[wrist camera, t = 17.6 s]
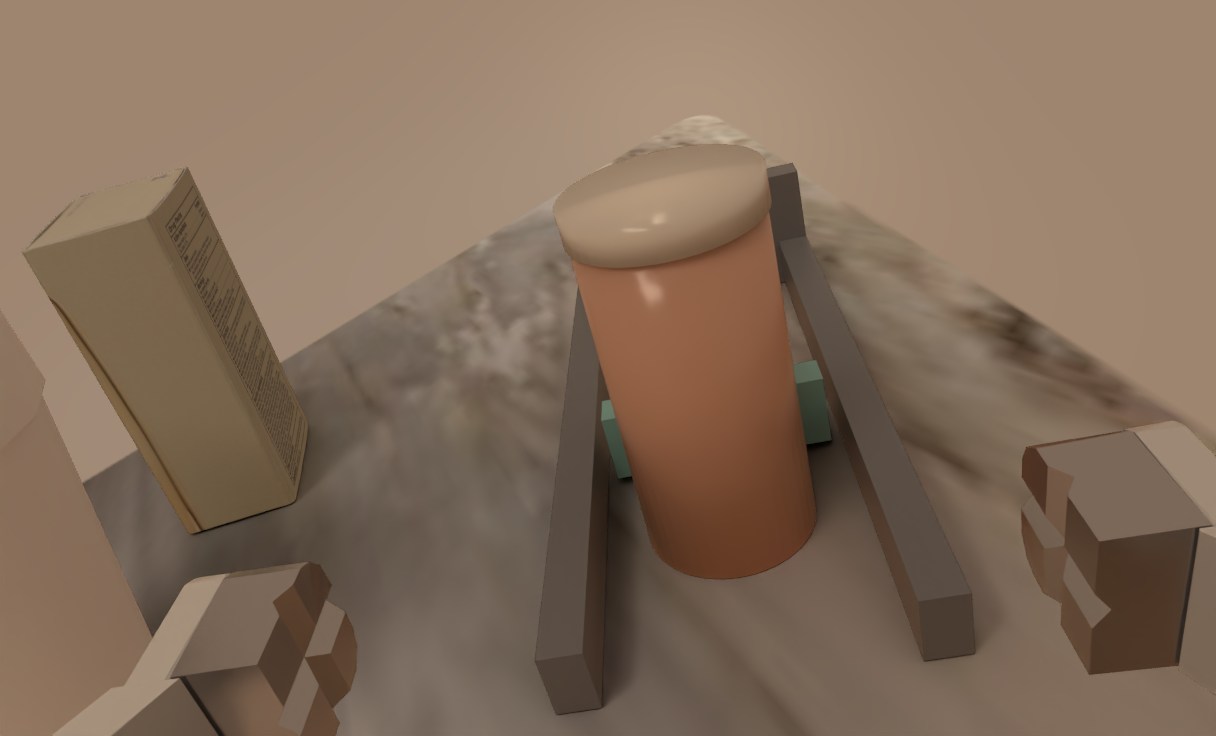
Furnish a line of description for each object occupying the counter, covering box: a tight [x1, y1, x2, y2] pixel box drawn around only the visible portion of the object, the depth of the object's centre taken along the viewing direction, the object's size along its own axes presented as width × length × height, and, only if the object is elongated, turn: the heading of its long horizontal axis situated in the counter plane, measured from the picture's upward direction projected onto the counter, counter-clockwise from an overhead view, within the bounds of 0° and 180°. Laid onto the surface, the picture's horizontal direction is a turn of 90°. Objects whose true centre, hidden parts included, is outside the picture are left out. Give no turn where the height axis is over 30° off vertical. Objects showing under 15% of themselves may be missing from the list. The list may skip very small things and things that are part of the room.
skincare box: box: [22, 166, 308, 534], centre depth 34 cm, size 6×4×12 cm
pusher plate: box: [601, 360, 831, 478], centre depth 32 cm, size 7×7×2 cm
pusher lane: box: [535, 163, 975, 715], centre depth 31 cm, size 23×10×5 cm, turn 179°
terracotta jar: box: [553, 144, 816, 579], centre depth 25 cm, size 5×5×11 cm
